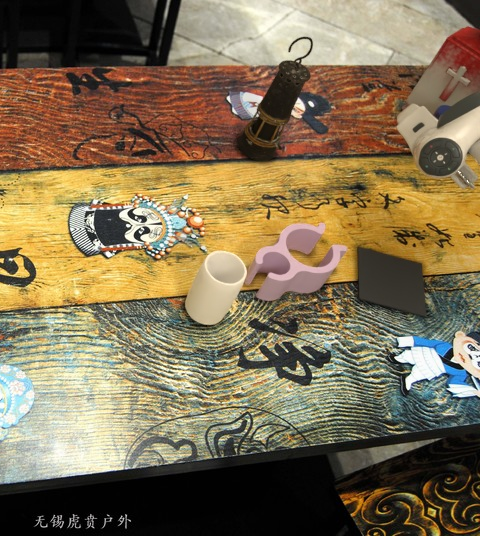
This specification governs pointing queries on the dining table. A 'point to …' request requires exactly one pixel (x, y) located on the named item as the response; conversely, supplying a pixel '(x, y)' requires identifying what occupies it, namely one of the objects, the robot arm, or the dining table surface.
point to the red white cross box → (450, 72)
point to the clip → (293, 263)
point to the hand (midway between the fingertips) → (437, 143)
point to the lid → (441, 110)
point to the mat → (391, 281)
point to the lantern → (275, 109)
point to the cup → (215, 287)
